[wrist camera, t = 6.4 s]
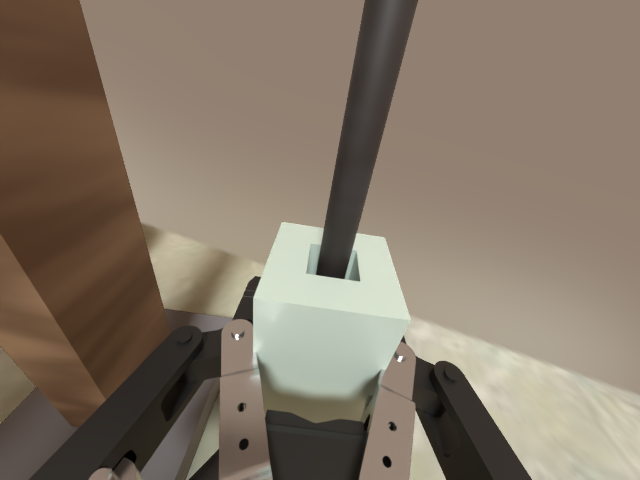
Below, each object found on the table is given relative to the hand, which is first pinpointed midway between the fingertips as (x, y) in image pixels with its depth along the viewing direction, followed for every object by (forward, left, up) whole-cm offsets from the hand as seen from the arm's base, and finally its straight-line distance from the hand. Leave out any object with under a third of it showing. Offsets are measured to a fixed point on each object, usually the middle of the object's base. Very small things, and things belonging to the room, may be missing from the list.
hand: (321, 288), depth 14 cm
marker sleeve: (0, -3, -5) cm, 6 cm away
